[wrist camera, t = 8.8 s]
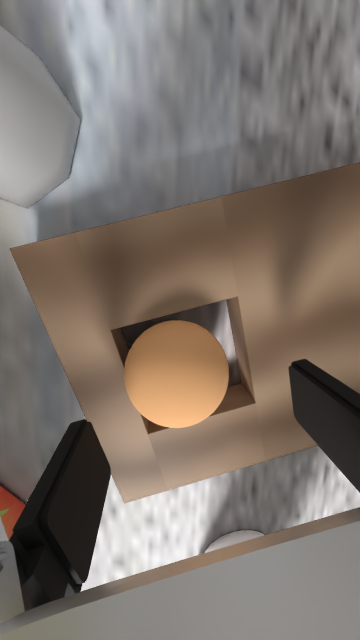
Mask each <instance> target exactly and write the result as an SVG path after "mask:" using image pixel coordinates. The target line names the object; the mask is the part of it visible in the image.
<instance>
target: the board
mask: <svg viewBox="0 0 360 640" xmlns="http://www.w3.org/2000/svg"><path fill="white" fill-rule="evenodd" d="M10 251H11V253H12V255H13V258H14V260H15V262H16V264H17V266H18V269H19V271H20V273H21V275H22V277H23V280H24V282H25V284H26V286H27V289H28V291H29V293H30V295H31V297H32V300H33V302H34V304H35V306H36V309H37V311H38V313H39V315H40V317H41V320H42V322H43V324H44V326H45V329H46V331H47V333H48V335H49V337H50V340H51V342H52V344H53V346H54V348H55V351H56V353H57V355H58V357H59V360H60V362H61V364H62V366H63V368H64V371H65V373H66V375H67V377H68V380H69V382H70V384H71V386H72V388H73V391H74V393H75V395H76V397H77V400H78V402H79V404H80V406H81V408H82V411H83V413H84V415H85V417H86V419H87V422H91V423H92V425H93V428H94V430H95V432H96V435H97V437H98V439H99V442H100V444H101V446H102V448H103V451H104V453H105V455H106V458H107V460H108V462H109V464H110V468H111V475H112V477H113V479H114V482H115V484H116V486H117V488H118V490H119V493H120V495H121V497H122V499H123V502H124V503H127V502H131V501H134V500H137V499H141V498H144V497H147V496H151V495H154V494H158V493H161V492H164V491H168V490H171V489H174V488H178V487H181V486H184V485H188V484H191V483H194V482H198V481H201V480H204V479H208V478H211V477H214V476H218V475H221V474H224V473H228V472H231V471H235V470H238V469H241V468H245V467H248V466H251V465H255V464H258V463H261V462H265V461H268V460H271V459H275V458H278V457H281V456H285V455H288V454H291V453H295V452H298V451H302V450H305V449H308V448H312V447H315V446H318V445H317V443H316V442H315V441H314V440H313V439H312V438H311V437H310V435H309V434H308V433H307V432H306V431H305V430H304V429H303V428H302V426H301V425H300V424H299V423H298V422H297V420H296V419H295V416H294V413H293V404H292V396H291V387H290V378H289V370H288V368H289V366H291V363H292V362H294V361H297V360H301V359H307V360H308V361H310V362H311V363H313V364H314V365H316V366H317V367H319V368H321V369H322V370H324V371H325V372H327V373H328V374H330V375H331V376H333V377H335V378H336V379H338V380H339V381H341V382H342V383H344V384H345V385H347V386H348V387H350V388H352V389H353V390H355V391H356V392H358V393H359V394H360V163H356V164H352V165H348V166H343V167H339V168H335V169H331V170H327V171H323V172H319V173H315V174H311V175H307V176H303V177H299V178H295V179H291V180H286V181H282V182H278V183H274V184H270V185H266V186H262V187H258V188H254V189H250V190H246V191H242V192H238V193H234V194H229V195H225V196H221V197H217V198H213V199H209V200H205V201H201V202H197V203H193V204H189V205H185V206H181V207H177V208H172V209H168V210H164V211H160V212H156V213H152V214H148V215H144V216H140V217H136V218H132V219H128V220H124V221H120V222H115V223H111V224H107V225H103V226H99V227H95V228H91V229H87V230H83V231H79V232H75V233H71V234H67V235H63V236H58V237H54V238H50V239H46V240H42V241H38V242H34V243H30V244H26V245H22V246H18V247H14V248H10ZM222 300H226V301H227V307H228V312H229V317H230V323H231V328H232V334H233V339H234V345H235V350H236V355H237V361H238V366H239V372H240V377H241V383H240V384H236V385H233V386H229V387H227V390H226V393H225V396H224V398H223V400H222V402H221V403H220V405H219V406H218V408H217V409H216V410H215V411H214V412H213V413H212V414H211V415H210V416H209V417H207V418H206V419H204V420H203V421H201V422H199V423H197V424H195V425H192V426H188V427H183V428H169V427H164V426H161V425H158V424H155V423H153V422H151V421H150V420H148V419H147V418H145V417H144V416H143V415H142V414H140V412H139V411H138V410H137V409H136V408H135V407H134V405H133V404H132V402H131V400H130V398H129V396H128V393H127V391H126V387H125V381H124V367H125V361H126V358H127V355H128V353H129V350H128V347H127V344H126V341H125V338H124V335H123V332H122V329H121V327H124V326H128V325H132V324H135V323H139V322H143V321H147V320H150V319H154V318H158V317H162V316H166V315H169V314H173V313H177V312H181V311H184V310H188V309H192V308H196V307H199V306H203V305H207V304H211V303H215V302H218V301H222Z"/></svg>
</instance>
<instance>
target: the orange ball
mask: <svg viewBox="0 0 360 640" xmlns="http://www.w3.org/2000/svg"><path fill="white" fill-rule="evenodd" d="M228 380H229V367H228V362H227V358H226V355H225V352H224V350H223V348H222V346H221V345H220V343H219V342H218V340H217V339H216V338H215V337H214V336H213V335H212V334H211V333H210V332H209V331H208V330H206V329H205V328H203V327H202V326H200V325H198V324H195V323H192V322H189V321H183V320H170V321H165V322H161V323H158V324H156V325H154V326H152V327H150V328H148V329H147V330H146V331H144V332H143V333H142V334H141V335H140V336H139V337H138V338H137V339H136V341H135V342H134V343H133V345H132V347H131V348H130V350H129V353H128V355H127V358H126V361H125V367H124V381H125V387H126V391H127V393H128V396H129V398H130V400H131V402H132V404H133V405H134V407H135V408H136V409H137V410H138V411H139V412H140V414H142V415H143V416H144V417H145V418H147V419H148V420H150V421H151V422H153V423H155V424H158V425H161V426H164V427H169V428H183V427H188V426H192V425H195V424H197V423H199V422H201V421H203V420H204V419H206V418H207V417H209V416H210V415H211V414H212V413H213V412H214V411H215V410H216V409H217V408H218V406H219V405H220V403H221V402H222V400H223V398H224V396H225V393H226V390H227V386H228Z"/></svg>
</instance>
